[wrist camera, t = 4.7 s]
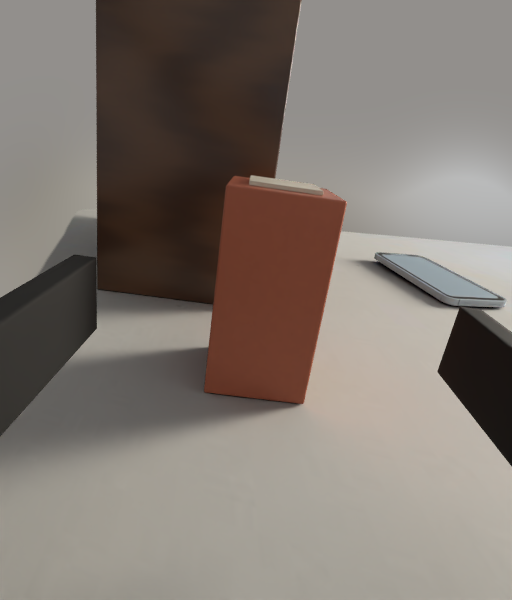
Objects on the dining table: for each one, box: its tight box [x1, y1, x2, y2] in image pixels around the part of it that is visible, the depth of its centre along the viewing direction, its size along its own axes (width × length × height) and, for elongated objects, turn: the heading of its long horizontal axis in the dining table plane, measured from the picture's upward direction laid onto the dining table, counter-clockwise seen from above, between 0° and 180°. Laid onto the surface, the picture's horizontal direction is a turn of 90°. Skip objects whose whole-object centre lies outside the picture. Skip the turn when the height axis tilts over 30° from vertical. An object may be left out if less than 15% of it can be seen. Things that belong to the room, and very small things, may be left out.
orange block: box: [204, 175, 347, 404], centre depth 20 cm, size 5×5×10 cm
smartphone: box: [374, 252, 507, 307], centre depth 45 cm, size 7×1×15 cm
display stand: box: [96, 0, 302, 304], centre depth 37 cm, size 12×26×28 cm, turn 0°
